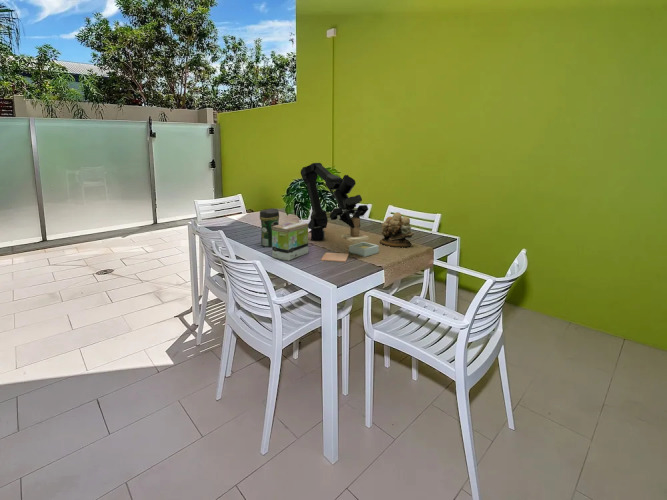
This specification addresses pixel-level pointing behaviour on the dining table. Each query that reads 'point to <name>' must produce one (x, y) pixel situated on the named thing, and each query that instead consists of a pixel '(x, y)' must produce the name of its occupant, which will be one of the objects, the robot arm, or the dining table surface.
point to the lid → (355, 232)
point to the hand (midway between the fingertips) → (356, 227)
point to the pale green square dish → (364, 249)
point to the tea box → (289, 240)
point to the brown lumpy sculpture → (396, 231)
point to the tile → (335, 257)
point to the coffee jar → (268, 225)
